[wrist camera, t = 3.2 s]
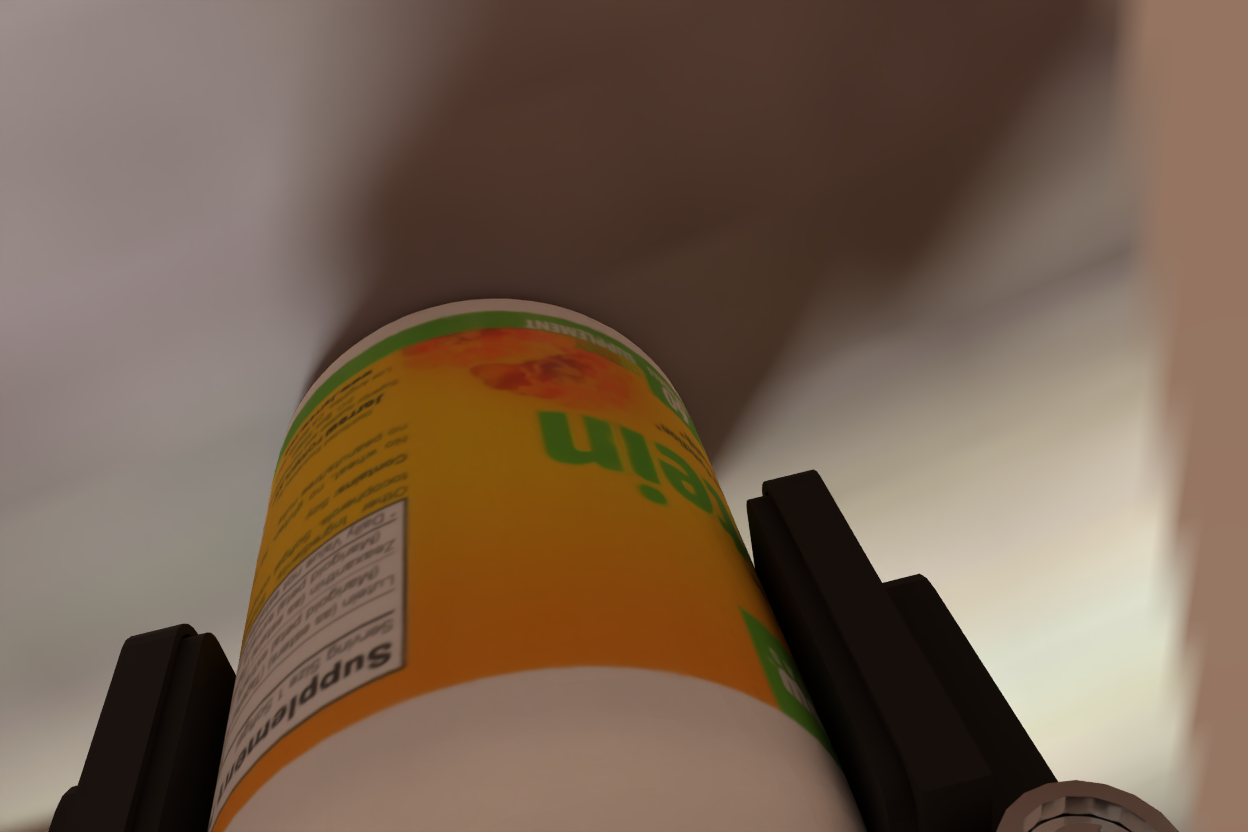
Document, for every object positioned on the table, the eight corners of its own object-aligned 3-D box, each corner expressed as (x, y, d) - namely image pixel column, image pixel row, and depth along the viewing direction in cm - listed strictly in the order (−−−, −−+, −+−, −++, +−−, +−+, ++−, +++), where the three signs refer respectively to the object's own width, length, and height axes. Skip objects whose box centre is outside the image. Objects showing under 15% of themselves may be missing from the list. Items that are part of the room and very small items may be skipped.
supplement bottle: (773, 447, 15) (1237, 1312, 6) (508, 685, 16) (617, 1641, 8) (469, 194, 12) (604, 1091, 4) (188, 503, 14) (-142, 1636, 5)
